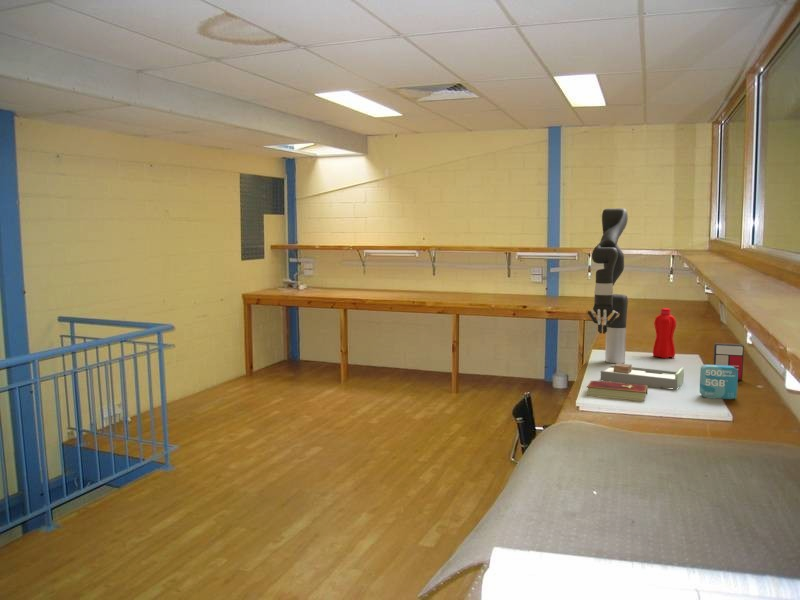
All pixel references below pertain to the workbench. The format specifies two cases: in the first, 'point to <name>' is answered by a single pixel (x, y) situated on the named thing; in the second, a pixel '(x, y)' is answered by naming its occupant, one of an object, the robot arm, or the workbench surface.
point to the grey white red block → (729, 356)
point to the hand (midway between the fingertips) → (602, 333)
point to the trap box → (645, 377)
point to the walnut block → (622, 368)
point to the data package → (718, 381)
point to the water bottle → (664, 334)
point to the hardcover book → (617, 390)
